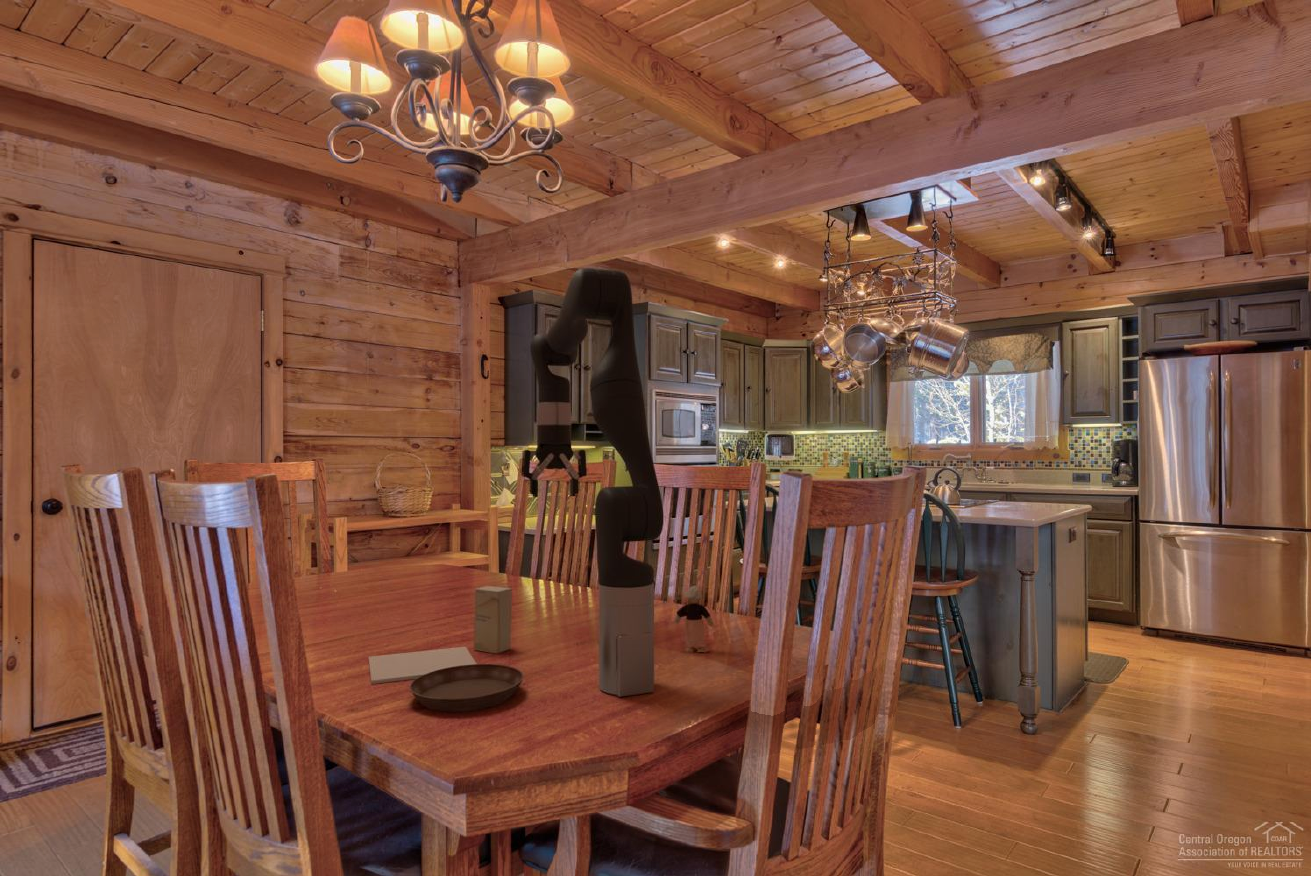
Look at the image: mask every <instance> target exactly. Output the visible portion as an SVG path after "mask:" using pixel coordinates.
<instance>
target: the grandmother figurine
mask: <svg viewBox="0 0 1311 876" xmlns="http://www.w3.org/2000/svg"><path fill="white" fill-rule="evenodd" d="M702 593H703V592H702V589H701V587H700V586H698V585H691V586H690V587H688V588H687V589H686V591H685V594H684V595H685V596H684V597H685V598H686V599H687V600H688V603H689V604H685V605H683V606H681V607H680V608H679V609H678V610H677V612H676V615H675V618H674V623H676V624H679V622H680V621H681V619H682V618H684V617H686V619H685V625H684V629H685V632H684V633H685V634H684V636H685V637H684V638H685V645H686V648H685V652H686V653H694V652H695V651H696V653H698V652H704V653H707V652H709V648H708V647H707V646H706V635H705V623H704V619H705V620H706V622H707V625H708V627H713V626H714V621H712V620H713V619H712V617H711V613H710V612H709V610H708V609H707V608H706V607H705V606H704V605H701V604H699V603H700V602H701V599H702Z"/></svg>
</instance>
